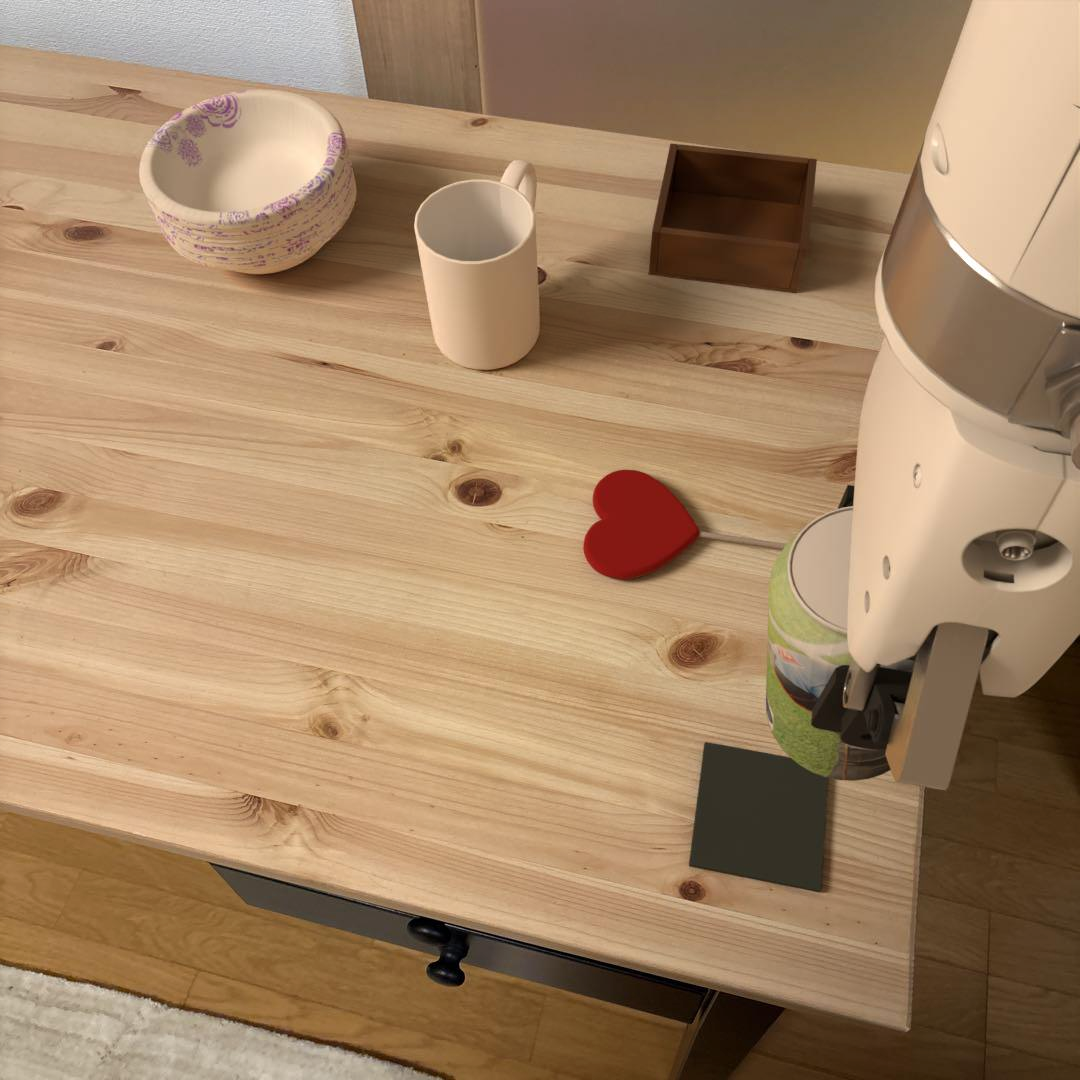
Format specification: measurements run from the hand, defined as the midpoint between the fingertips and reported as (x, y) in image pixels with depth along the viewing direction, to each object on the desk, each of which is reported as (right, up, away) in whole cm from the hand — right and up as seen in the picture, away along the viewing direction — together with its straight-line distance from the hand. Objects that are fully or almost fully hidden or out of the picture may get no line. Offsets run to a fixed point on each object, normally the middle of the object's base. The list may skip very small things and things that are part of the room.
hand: (862, 636), depth 35 cm
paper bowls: (-33, +28, +45) cm, 62 cm away
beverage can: (0, -4, +6) cm, 7 cm away
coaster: (+1, -12, +20) cm, 23 cm away
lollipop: (-1, +3, +29) cm, 29 cm away
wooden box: (+3, +27, +43) cm, 50 cm away
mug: (-14, +20, +40) cm, 47 cm away
